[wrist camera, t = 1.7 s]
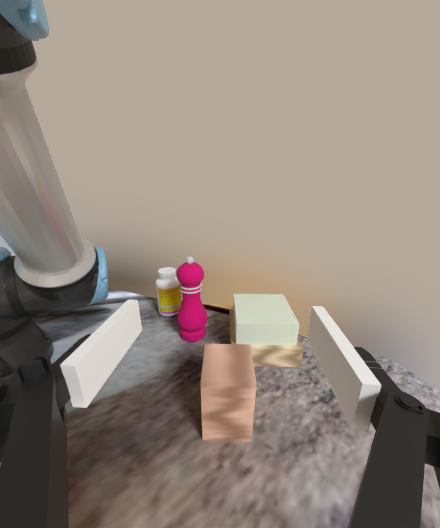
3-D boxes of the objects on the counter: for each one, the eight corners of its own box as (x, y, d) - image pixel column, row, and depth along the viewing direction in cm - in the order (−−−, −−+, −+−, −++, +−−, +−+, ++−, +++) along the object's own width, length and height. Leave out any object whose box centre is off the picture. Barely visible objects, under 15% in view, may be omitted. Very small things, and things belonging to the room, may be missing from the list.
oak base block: (231, 367, 43) (231, 347, 41) (229, 325, 56) (229, 309, 55) (300, 368, 43) (303, 348, 41) (282, 326, 56) (284, 310, 54)
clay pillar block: (202, 440, 30) (200, 382, 27) (206, 395, 37) (205, 343, 33) (251, 441, 30) (256, 383, 26) (246, 395, 37) (249, 344, 33)
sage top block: (235, 344, 42) (236, 323, 41) (233, 311, 54) (233, 293, 52) (296, 345, 42) (299, 324, 40) (280, 311, 53) (282, 294, 52)
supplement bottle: (185, 313, 61) (182, 271, 57) (162, 320, 58) (158, 276, 53) (177, 303, 66) (174, 264, 62) (155, 308, 63) (151, 268, 59)
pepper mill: (210, 340, 50) (209, 260, 43) (179, 345, 48) (172, 263, 42) (205, 322, 57) (203, 250, 50) (177, 326, 55) (171, 252, 48)
